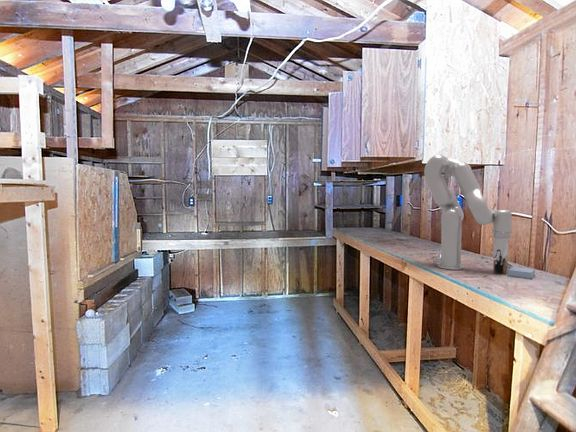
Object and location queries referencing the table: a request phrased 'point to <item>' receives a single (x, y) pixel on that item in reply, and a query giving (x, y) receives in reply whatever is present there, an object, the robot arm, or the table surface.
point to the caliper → (511, 264)
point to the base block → (521, 272)
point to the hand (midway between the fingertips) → (500, 271)
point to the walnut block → (503, 267)
